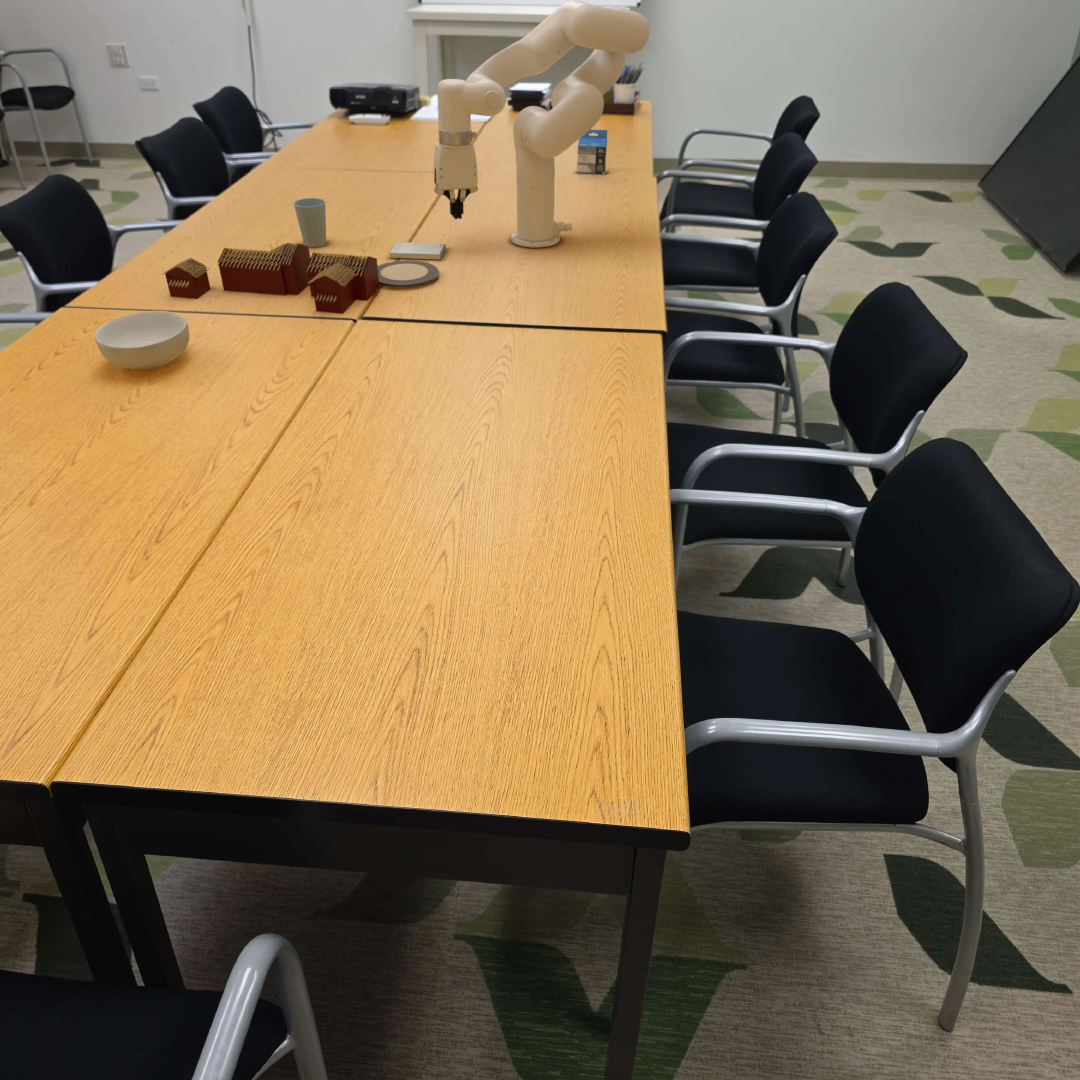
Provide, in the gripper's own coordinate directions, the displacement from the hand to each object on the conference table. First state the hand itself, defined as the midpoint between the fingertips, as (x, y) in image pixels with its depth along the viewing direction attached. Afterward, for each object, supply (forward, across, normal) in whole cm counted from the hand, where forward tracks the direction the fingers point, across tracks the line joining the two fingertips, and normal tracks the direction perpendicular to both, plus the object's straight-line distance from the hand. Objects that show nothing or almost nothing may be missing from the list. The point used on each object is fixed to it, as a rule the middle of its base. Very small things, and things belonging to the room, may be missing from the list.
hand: (456, 217), depth 226 cm
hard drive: (+8, +10, 0) cm, 13 cm away
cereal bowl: (+10, +74, +43) cm, 86 cm away
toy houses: (+9, +47, +14) cm, 50 cm away
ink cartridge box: (+7, -60, -56) cm, 82 cm away
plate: (+8, +17, +15) cm, 24 cm away
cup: (+9, +33, -16) cm, 38 cm away
